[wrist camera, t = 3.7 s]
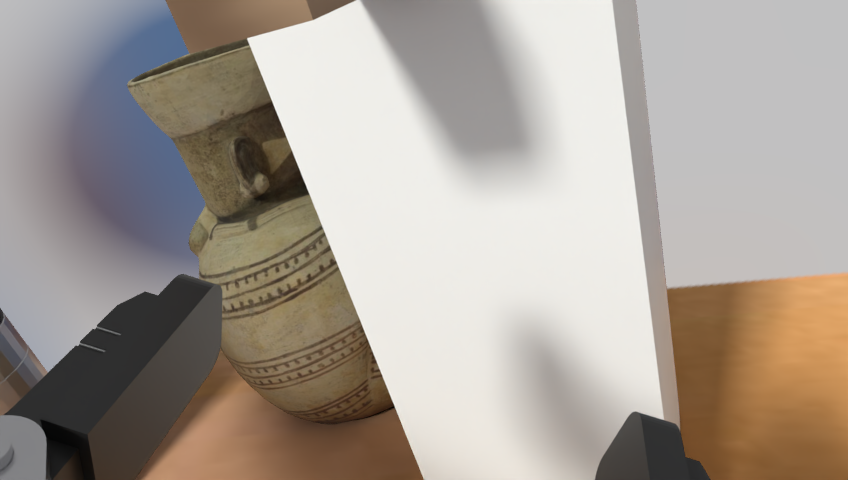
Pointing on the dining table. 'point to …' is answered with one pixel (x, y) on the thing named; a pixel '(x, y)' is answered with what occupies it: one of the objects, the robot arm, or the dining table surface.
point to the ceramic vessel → (263, 240)
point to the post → (489, 219)
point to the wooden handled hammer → (241, 18)
